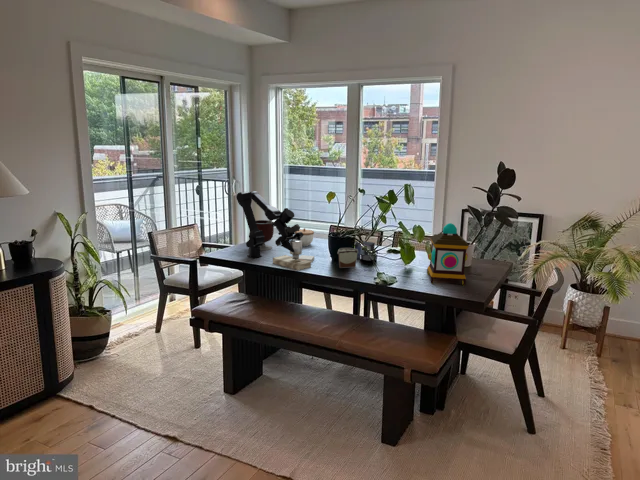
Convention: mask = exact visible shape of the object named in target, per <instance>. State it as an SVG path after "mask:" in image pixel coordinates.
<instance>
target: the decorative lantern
mask: <svg viewBox="0 0 640 480" xmlns="http://www.w3.org/2000/svg"><path fill="white" fill-rule="evenodd" d="M430 241H431V248H430V249H431V250H430V253H428V255H427V259H428V260H429V264H428V267H427V269H426V274H427V275H428V276H429V277H430V283H431V284H434V282H435V281H434V280H436V279H437V280H439V279H440V280H452V281H455V280H456V281H461V282H462V283H461V284H462V285H463V284H464V285H463V286H465V285H466V283H467V278H466V275H465V267H466V261H468V257H469V256H468V253H467V250H468V248H469V244H468V242H467V241H466V240H465V239H464V238H463V237H462V235H459V233H458V228H457V227H456V225H455V224H454V223H452V222H450V223H447V224H446V225H444V226H443V228H442V230H441V232H439V233H437V234H433V235H432V236H430Z"/></svg>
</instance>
